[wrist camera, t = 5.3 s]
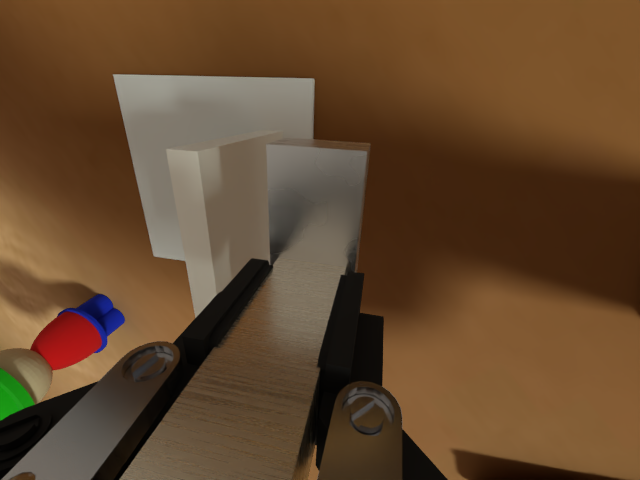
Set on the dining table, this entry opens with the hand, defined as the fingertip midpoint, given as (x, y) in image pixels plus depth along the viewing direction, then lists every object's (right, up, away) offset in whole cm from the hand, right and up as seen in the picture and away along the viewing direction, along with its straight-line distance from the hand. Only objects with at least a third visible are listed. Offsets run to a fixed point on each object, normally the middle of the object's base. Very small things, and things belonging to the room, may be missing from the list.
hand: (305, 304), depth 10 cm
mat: (-8, +7, +15) cm, 19 cm away
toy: (-25, -6, +26) cm, 36 cm away
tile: (-3, +6, +14) cm, 16 cm away
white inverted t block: (+1, +1, +2) cm, 3 cm away
